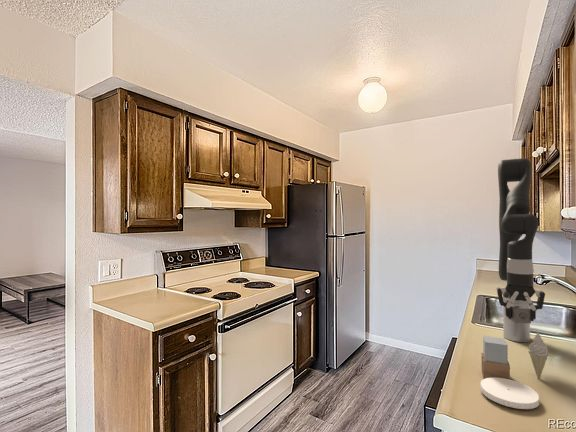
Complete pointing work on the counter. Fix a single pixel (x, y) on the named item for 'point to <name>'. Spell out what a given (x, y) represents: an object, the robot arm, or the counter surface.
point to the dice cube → (520, 314)
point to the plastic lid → (509, 393)
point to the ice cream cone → (538, 354)
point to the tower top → (495, 349)
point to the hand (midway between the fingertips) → (520, 319)
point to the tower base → (494, 369)
